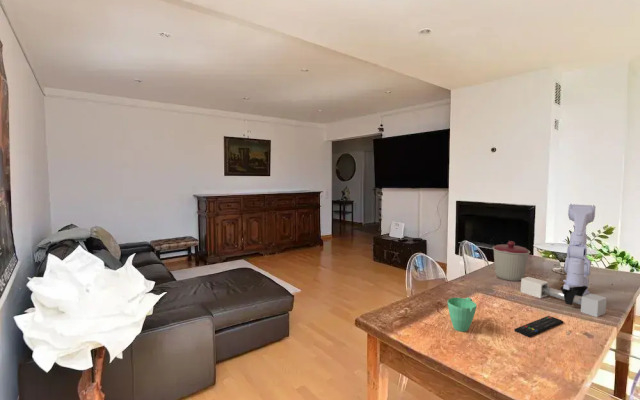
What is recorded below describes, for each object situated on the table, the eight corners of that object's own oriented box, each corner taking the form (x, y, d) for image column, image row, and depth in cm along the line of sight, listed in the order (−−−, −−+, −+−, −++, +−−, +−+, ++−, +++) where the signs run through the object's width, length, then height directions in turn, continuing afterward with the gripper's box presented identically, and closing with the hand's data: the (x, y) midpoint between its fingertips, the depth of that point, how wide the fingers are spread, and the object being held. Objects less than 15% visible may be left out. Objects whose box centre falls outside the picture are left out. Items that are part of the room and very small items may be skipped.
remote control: (514, 332, 116) (514, 328, 116) (548, 318, 127) (548, 315, 127) (529, 339, 111) (529, 335, 111) (563, 324, 123) (564, 321, 123)
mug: (470, 338, 110) (472, 310, 110) (442, 329, 117) (443, 303, 116) (481, 323, 121) (483, 298, 121) (455, 316, 128) (456, 292, 127)
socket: (589, 308, 137) (590, 293, 136) (605, 313, 132) (606, 297, 131) (580, 311, 133) (581, 296, 132) (596, 317, 128) (598, 301, 128)
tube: (538, 290, 152) (539, 283, 152) (595, 307, 133) (596, 299, 133) (534, 292, 151) (535, 284, 150) (591, 309, 131) (592, 301, 131)
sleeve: (527, 289, 158) (528, 276, 158) (547, 295, 150) (548, 282, 150) (520, 291, 155) (521, 278, 155) (540, 298, 147) (541, 284, 147)
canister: (528, 276, 179) (530, 240, 177) (528, 286, 164) (531, 246, 162) (492, 271, 188) (493, 236, 187) (489, 279, 173) (491, 242, 172)
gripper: (572, 267, 144) (570, 296, 146) (556, 272, 138) (554, 302, 139) (591, 272, 138) (589, 302, 139) (575, 277, 131) (573, 308, 132)
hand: (572, 302), depth 139 cm, fingers open, 7 cm apart
